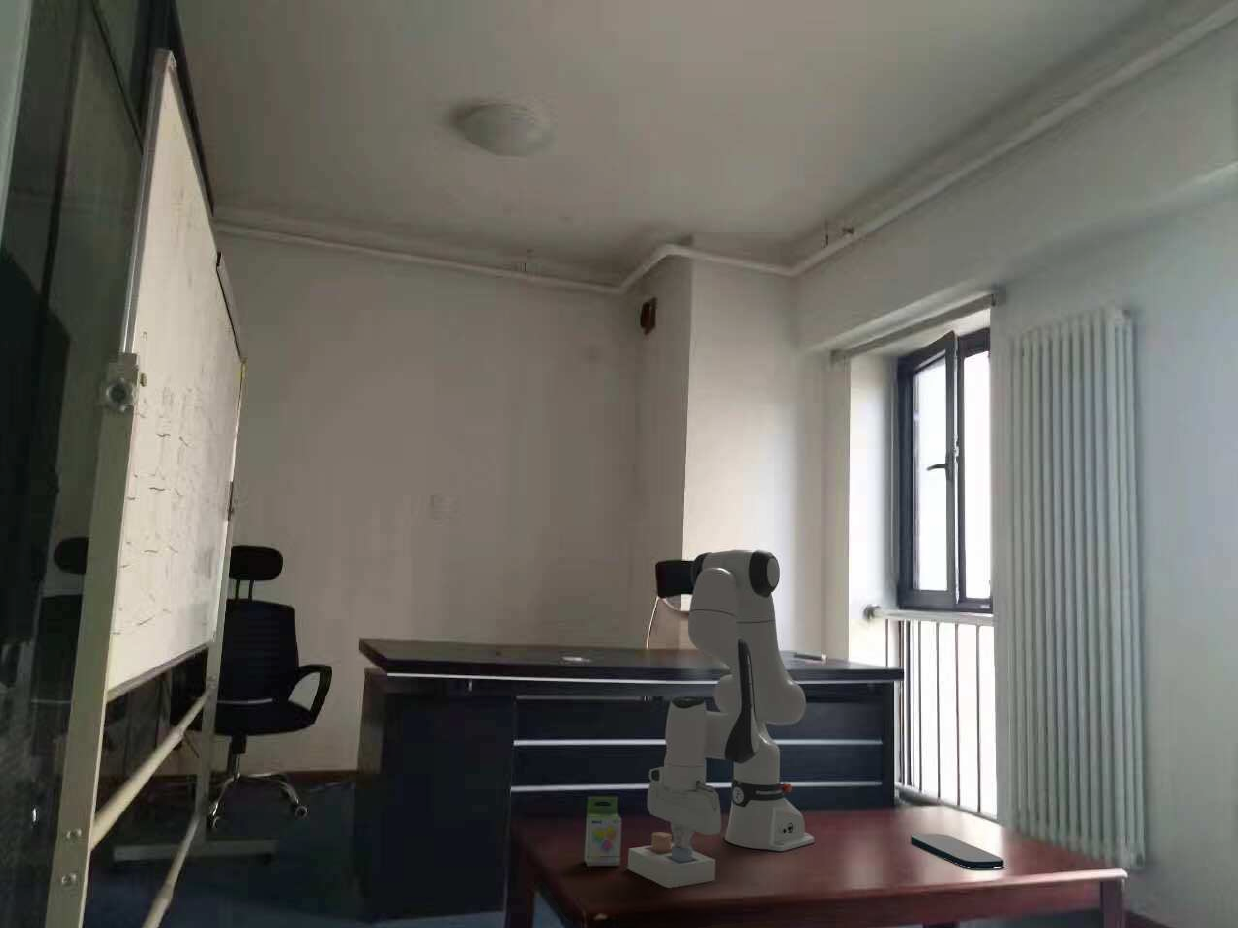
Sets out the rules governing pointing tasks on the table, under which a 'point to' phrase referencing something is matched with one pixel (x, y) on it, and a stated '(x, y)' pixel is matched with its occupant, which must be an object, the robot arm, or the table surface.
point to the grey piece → (681, 855)
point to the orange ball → (661, 843)
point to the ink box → (602, 833)
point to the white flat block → (670, 867)
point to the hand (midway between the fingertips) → (681, 847)
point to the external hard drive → (956, 851)
